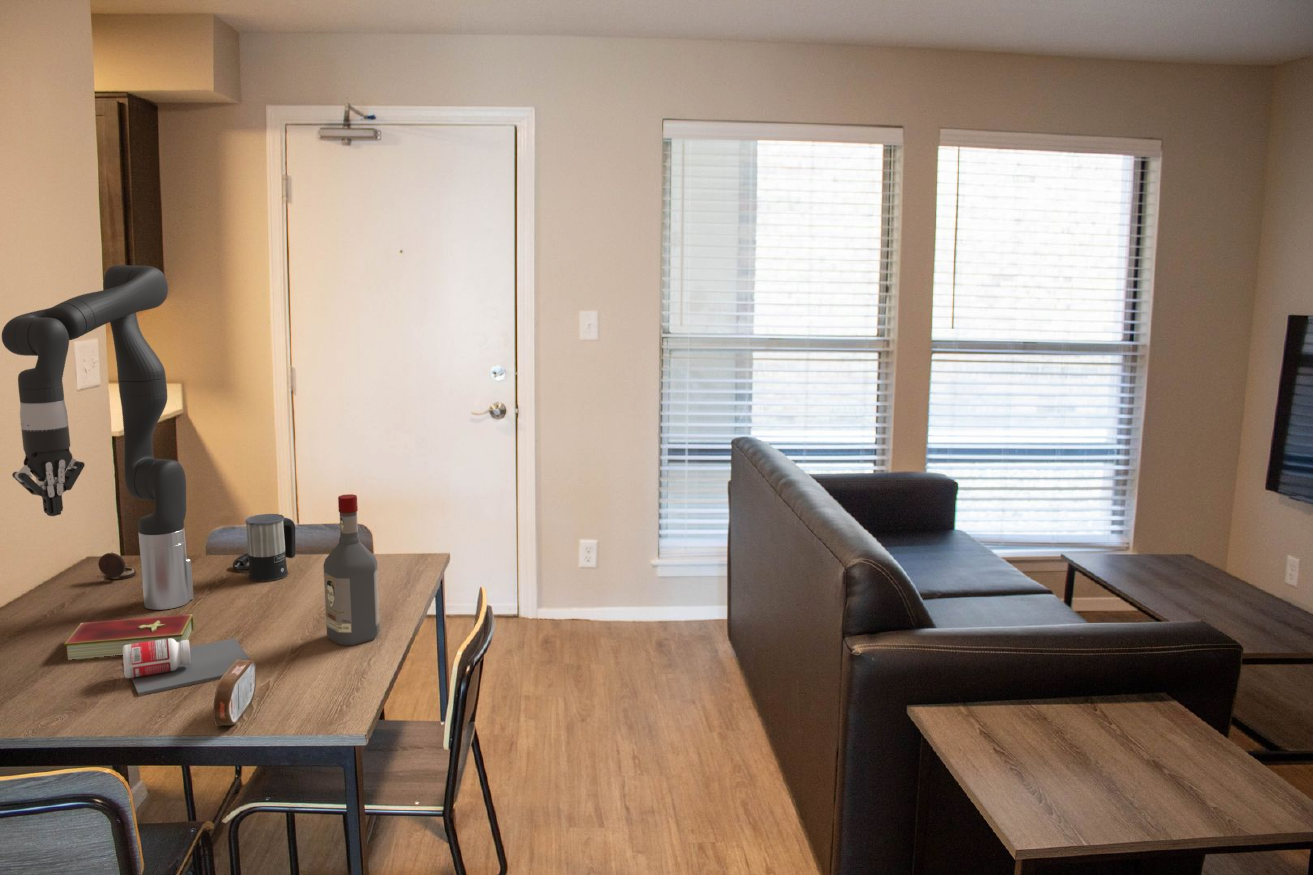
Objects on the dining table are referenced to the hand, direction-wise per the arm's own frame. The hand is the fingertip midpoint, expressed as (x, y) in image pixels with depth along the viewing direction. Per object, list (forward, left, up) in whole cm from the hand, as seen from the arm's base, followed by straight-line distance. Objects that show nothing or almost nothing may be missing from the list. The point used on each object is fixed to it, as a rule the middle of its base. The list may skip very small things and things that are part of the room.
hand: (54, 514), depth 187 cm
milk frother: (-56, -9, -29) cm, 63 cm away
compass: (-37, -37, -29) cm, 60 cm away
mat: (-8, +24, -29) cm, 38 cm away
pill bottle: (+2, +19, -25) cm, 31 cm away
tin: (+2, +48, -29) cm, 56 cm away
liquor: (-34, +41, -29) cm, 61 cm away
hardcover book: (-10, +5, -30) cm, 32 cm away
